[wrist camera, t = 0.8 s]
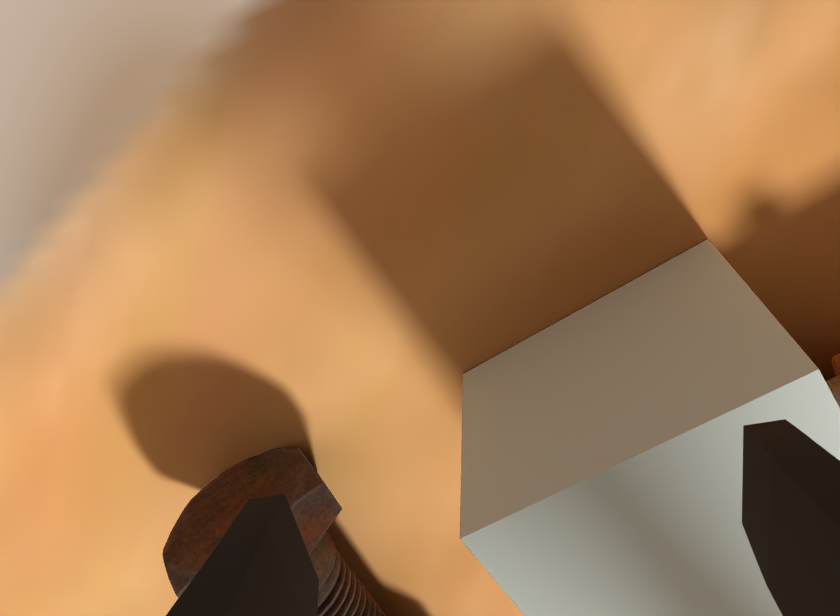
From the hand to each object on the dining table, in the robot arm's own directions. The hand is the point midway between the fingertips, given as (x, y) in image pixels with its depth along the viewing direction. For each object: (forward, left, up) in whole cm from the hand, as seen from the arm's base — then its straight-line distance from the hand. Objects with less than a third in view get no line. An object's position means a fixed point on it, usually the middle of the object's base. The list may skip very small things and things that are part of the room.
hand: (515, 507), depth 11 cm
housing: (-9, -1, -10) cm, 14 cm away
